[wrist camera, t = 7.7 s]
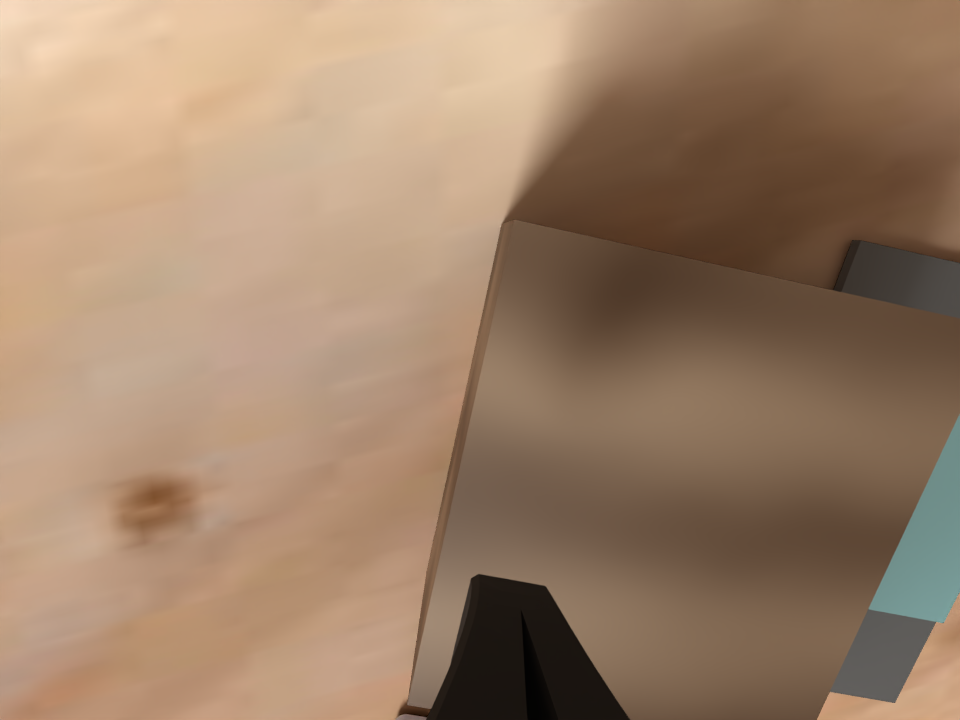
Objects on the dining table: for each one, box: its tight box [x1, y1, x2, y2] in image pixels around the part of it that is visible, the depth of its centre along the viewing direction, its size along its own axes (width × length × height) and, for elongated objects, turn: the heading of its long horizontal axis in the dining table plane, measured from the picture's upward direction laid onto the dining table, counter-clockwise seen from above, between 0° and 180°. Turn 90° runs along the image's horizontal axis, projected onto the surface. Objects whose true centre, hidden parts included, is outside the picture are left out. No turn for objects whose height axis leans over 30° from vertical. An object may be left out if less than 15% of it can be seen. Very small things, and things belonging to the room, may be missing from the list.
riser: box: [407, 220, 960, 720], centre depth 16 cm, size 14×12×6 cm
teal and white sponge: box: [869, 414, 960, 623], centre depth 19 cm, size 8×5×2 cm, turn 168°
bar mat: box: [830, 240, 960, 703], centre depth 20 cm, size 18×9×1 cm, turn 168°
